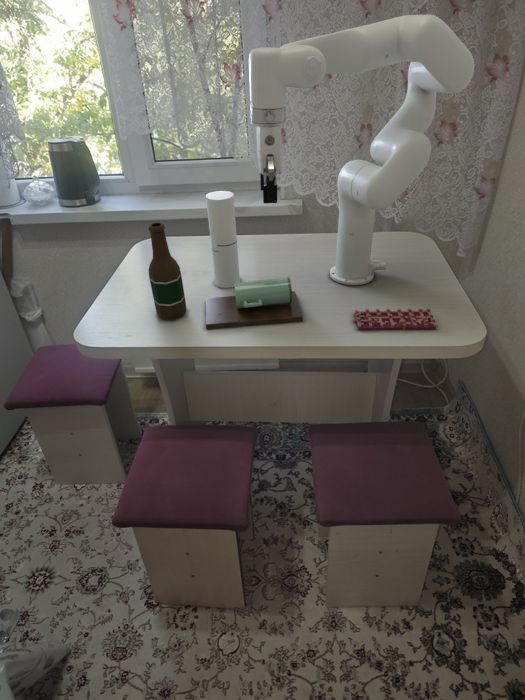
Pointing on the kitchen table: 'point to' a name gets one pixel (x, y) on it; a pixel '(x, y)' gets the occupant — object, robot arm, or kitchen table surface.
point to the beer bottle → (165, 277)
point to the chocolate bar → (395, 320)
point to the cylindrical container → (223, 237)
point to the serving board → (249, 313)
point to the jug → (263, 292)
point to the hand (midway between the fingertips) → (268, 196)
